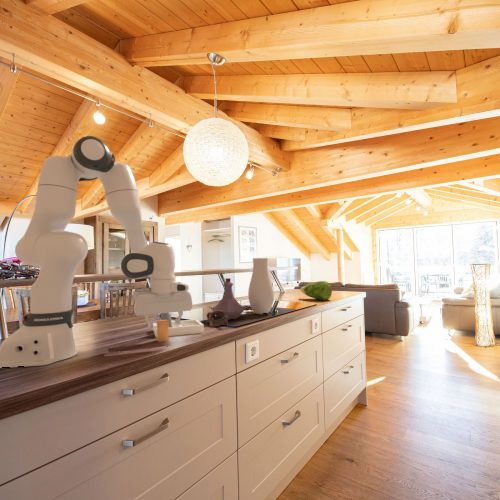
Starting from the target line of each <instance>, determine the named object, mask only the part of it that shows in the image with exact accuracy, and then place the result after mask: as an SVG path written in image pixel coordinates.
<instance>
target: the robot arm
mask: <svg viewBox="0 0 500 500" xmlns="http://www.w3.org/2000/svg"><path fill="white" fill-rule="evenodd" d="M97 179H98V180H99V182H101V184H102V186H103V189H104V195H105V200H106V204H107V206H108V209H109V211H110V214H111V216H113V217H114V218H115V219H116V220H117V221H118V222H119V223H120V224H121V225H122V227H123V229H124V231H125V232H126V235H127V239H128V243H129V247H130V251H131V252H130V253H128V254H126V255H125V256H123V258H122V260H121V263H120V269H121V272H122V274H123V275H124V276H125V277H127V278H129V279H132V280H139V279H140V280H141V279H147V278H149V284H150V285H149V286H150V287H145V288H137V289H136V290H134V291H133V292H132V300H133V301H134V305H133V313H134V315H135V316H137V317H138V316H144V318H145V320H146V321H147V324H148V325H147V326H148V328H153V323H154V322H153V321H150V320H149V318H150V315H158V314H160V315H161V313H171V314H172V313H177V314H178V316H177V318H175V319H174V321H175V324H180V321H181V318H182V317H183V315H184V313H183V312H189V311H191V310H193V299H192V295H191V292H190V291H189V287H190V286H189V285H188V284H186V283H182V282H180V281H176V275H175V268H176V262H175V252H174V248H173V246H172V245H171V244H169V243H167V242H162V241H161V242H160V241H152V242H150V243H149V244H148V241H147V236H146V233H145V229H144V226H143V219H142V211H141V202H140V201H141V200H140V195H139V190H138V185H137V182H136V179H135V177H134V174H133V171H132V169H131V167H130V166H129V165H128V164H126V163H125V162H120V161H116V156H115V155H114V154H113V153H112V152H111V150H110V149H109V147H108V146H107V145H106V143H105V142H104V141H103V140H102V139H100V138H98V137H97V136H92V135H88V136H83V137H81V138H79V139H78V140H77V141H76V142H75V143H74V145H73V149H72V151H71V154H70V155H68V156H62V155H61V156H60V155H52V156H49V157H46V159H45V160H44V162H43V163H42V165H41V169H40V173H39V176H38V180H37V181H38V182H37V188H36V190H37V191H36V197H35V205H34V210H33V213H32V217H31V219H30V221H29V224H28V226H27V229H26V231H25V233H24V234H23V236H22V237H21V238H20V239H19V240H18V241H17V242H16V245H15V250H14V253H15V255H16V256H15V257H17V259H18V260H19V261H20V262H21V263H23V264H25V265H27V266H31V267H34V268H35V267H36V268H39V273H38V275H37V279H36V280H35V281H34V282H33V283H32V284H31V286H30V293H29V294H30V295H29V296H30V303H29V304H30V307H29V310H30V312H26V313H25V314H24V315H22V317H21V322H22V326H20V327H19V328H18V329H17V330H15V331H14V332H13V333H12V334H10V335H9V336H7V338H5V339H4V340H3V341H2V342H1V344H0V369H3V368H2V367H10V368H19V367H18V366H24V367H36V366H39V367H40V366H47V365H50V364H53V363H56V362H59V361H63V360H66V359H67V360H68V359H69V358H72V357H74V356H75V355H77V354H78V350H77V346H76V344H75V343H76V342H75V339H74V332H73V327H74V316H75V315H74V310H73V308H72V303H73V302H72V299H73V297H72V296H73V295H72V294H73V282H74V278H75V275H76V273H77V270H78V268H79V266H80V265H81V264H82V262H83V261H84V260H85V259H86V258H87V256H88V254H89V253H88V252H89V246H88V242H87V240H86V239H85V237H83V235H81V234H79V233H77V232H73V231H66V228H67V226H68V224H70V222H71V221H72V220H73V219H74V217H75V215H76V207H77V198H78V187H79V182H84V181H85V182H88V181H89V182H90V181H95V180H97Z"/></svg>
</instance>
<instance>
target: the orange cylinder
mask: <svg viewBox="0 0 500 500" xmlns="http://www.w3.org/2000/svg"><path fill="white" fill-rule="evenodd" d="M156 323H157V337H156V341H157V342H160V343H161V342H162V343H163V342H168V341H169V340H170V338H169V337H170V336H169V320H161V319H158V320H157V321H156Z"/></svg>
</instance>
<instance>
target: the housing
mask: <svg viewBox="0 0 500 500" xmlns="http://www.w3.org/2000/svg"><path fill="white" fill-rule="evenodd" d="M204 326H205V325H204V323H202V322H201V321H200V320H198V319H188V320H187V319H186V320H180V324H175V320H173V321H172V320H171V327H169V337H174V336H175V337H176V336H185V335H186V336H187V335H194V334H204V332H205V327H204ZM152 331H153V334H154V336H155V338H157V322H153V327H152Z"/></svg>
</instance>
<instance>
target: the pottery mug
mask: <svg viewBox="0 0 500 500" xmlns="http://www.w3.org/2000/svg"><path fill="white" fill-rule="evenodd" d="M206 318H207V319H208V322H209V324H208V326H209V327H214V328H215V327H219V326H222V325H225V326H228V325H229V320H227V319H226V318H228V316H227V315H226V313H225V312H224V311H221V310H216V311H213V310H212V311H211V312H210V311H209V312H207V314H206Z"/></svg>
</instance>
